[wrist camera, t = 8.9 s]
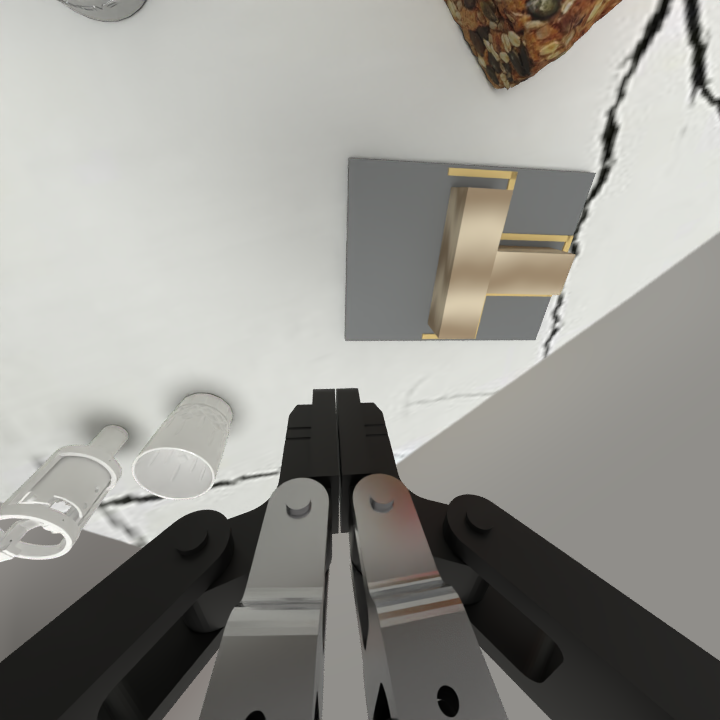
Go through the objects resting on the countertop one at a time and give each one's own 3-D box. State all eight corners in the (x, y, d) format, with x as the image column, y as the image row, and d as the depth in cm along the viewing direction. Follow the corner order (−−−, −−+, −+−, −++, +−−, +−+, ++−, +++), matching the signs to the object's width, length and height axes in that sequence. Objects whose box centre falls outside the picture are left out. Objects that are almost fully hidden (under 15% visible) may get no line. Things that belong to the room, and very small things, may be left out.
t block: (451, 187, 29) (468, 187, 26) (567, 194, 30) (598, 195, 27) (427, 324, 36) (438, 338, 32) (522, 324, 37) (543, 339, 34)
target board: (348, 158, 28) (349, 157, 27) (588, 173, 31) (597, 172, 30) (344, 337, 37) (345, 341, 36) (530, 336, 39) (536, 340, 38)
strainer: (71, 425, 39) (-56, 544, 26) (117, 405, 38) (11, 517, 25) (113, 459, 42) (21, 580, 29) (157, 442, 42) (81, 557, 29)
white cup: (235, 390, 39) (210, 448, 30) (239, 436, 43) (218, 499, 34) (168, 387, 38) (122, 446, 29) (178, 434, 42) (140, 500, 33)
